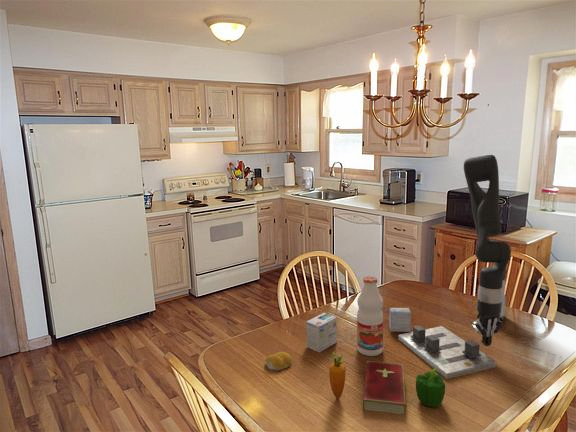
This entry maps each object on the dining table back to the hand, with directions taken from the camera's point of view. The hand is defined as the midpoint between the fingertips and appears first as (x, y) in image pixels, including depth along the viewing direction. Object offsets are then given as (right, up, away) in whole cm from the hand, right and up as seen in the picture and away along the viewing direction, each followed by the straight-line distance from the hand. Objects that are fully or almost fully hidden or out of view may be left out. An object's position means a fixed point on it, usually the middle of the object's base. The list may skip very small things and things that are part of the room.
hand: (486, 344), depth 143 cm
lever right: (-20, -1, +11) cm, 23 cm away
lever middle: (-18, -2, +3) cm, 18 cm away
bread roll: (-73, -8, +1) cm, 73 cm away
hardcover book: (-40, -10, -15) cm, 44 cm away
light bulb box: (-56, -4, +13) cm, 58 cm away
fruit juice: (-39, -5, +8) cm, 40 cm away
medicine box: (-24, -1, +23) cm, 34 cm away
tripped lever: (-6, -3, -1) cm, 7 cm away
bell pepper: (-27, -10, -22) cm, 36 cm away
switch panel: (-13, -4, +5) cm, 15 cm away
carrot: (-54, -11, -19) cm, 59 cm away
